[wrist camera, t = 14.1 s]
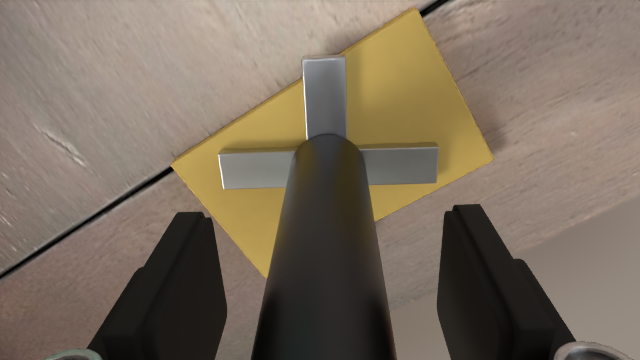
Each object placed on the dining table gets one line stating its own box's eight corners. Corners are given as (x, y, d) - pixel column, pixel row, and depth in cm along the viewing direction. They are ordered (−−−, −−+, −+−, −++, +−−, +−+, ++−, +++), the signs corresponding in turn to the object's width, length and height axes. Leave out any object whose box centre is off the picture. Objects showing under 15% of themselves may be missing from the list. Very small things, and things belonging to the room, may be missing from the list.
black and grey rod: (443, 50, 14) (723, 273, 4) (428, 249, 18) (565, 654, 7) (207, 59, 15) (-89, 289, 4) (236, 254, 18) (106, 647, 8)
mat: (413, 5, 14) (416, 7, 14) (490, 153, 17) (495, 160, 16) (174, 158, 17) (169, 165, 16) (267, 270, 19) (265, 279, 19)
